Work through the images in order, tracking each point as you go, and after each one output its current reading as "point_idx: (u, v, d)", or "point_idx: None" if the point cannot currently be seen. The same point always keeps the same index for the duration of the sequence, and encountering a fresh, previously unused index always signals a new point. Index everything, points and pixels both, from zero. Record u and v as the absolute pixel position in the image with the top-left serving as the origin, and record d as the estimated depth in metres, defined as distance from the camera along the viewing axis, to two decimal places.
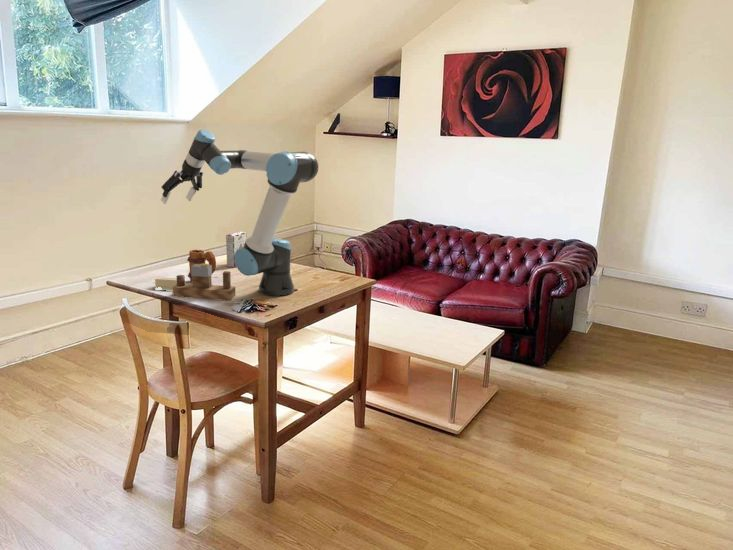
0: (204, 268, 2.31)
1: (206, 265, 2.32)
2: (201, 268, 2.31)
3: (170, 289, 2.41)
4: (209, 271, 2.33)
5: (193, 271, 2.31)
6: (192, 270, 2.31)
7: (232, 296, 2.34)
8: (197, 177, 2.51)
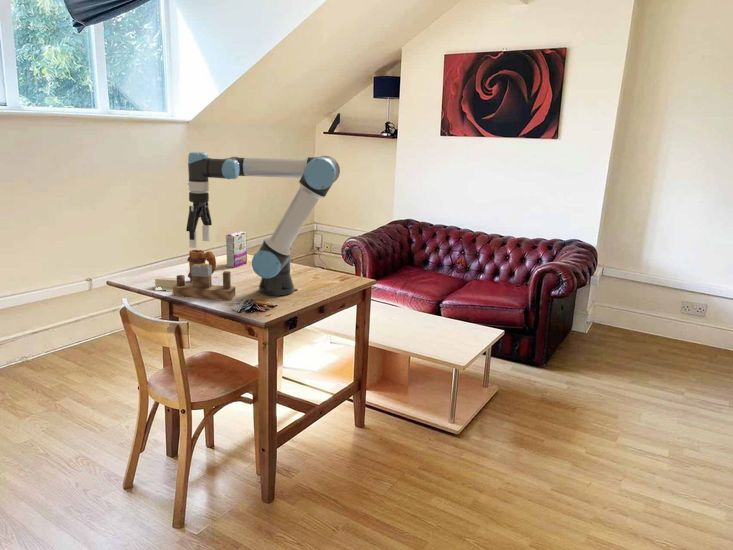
0: (204, 268, 2.31)
1: (206, 265, 2.32)
2: (201, 268, 2.31)
3: (170, 289, 2.41)
4: (209, 271, 2.33)
5: (193, 271, 2.31)
6: (192, 270, 2.31)
7: (232, 296, 2.34)
8: None
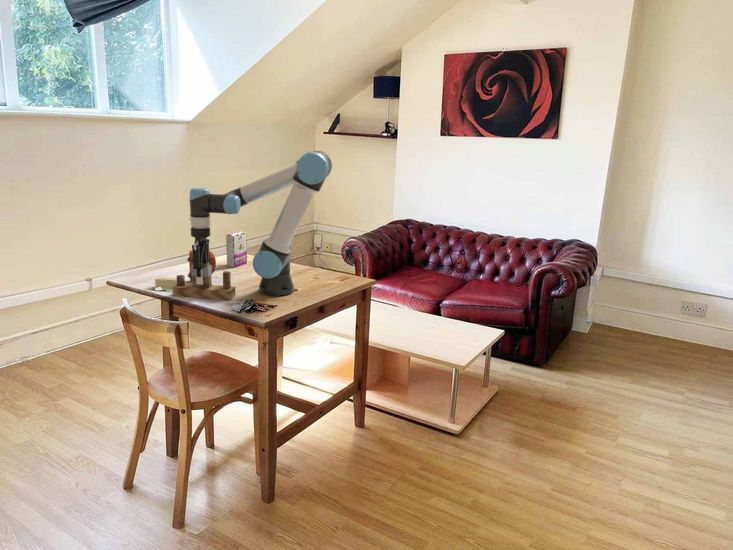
0: (204, 268, 2.31)
1: (206, 265, 2.32)
2: None
3: (170, 289, 2.41)
4: (209, 271, 2.33)
5: (193, 271, 2.31)
6: (192, 270, 2.31)
7: (232, 296, 2.34)
8: None
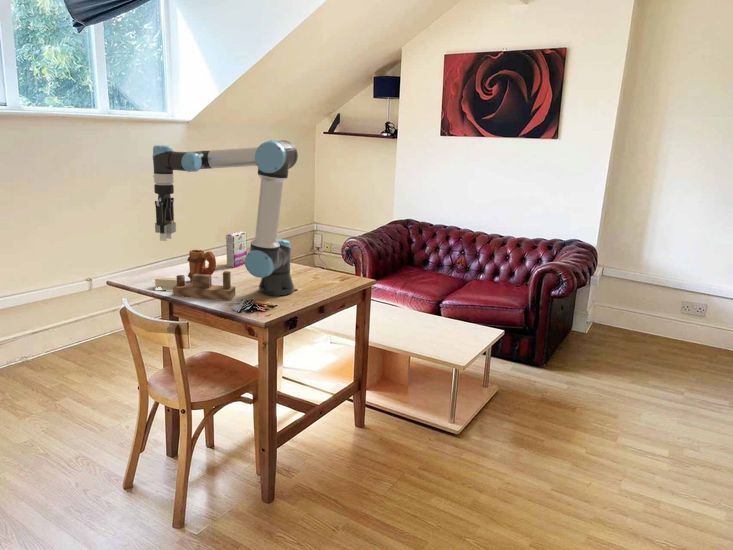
0: (168, 225, 2.36)
1: (170, 222, 2.37)
2: None
3: (170, 289, 2.41)
4: (173, 228, 2.37)
5: (157, 227, 2.36)
6: (155, 226, 2.36)
7: (232, 296, 2.34)
8: None
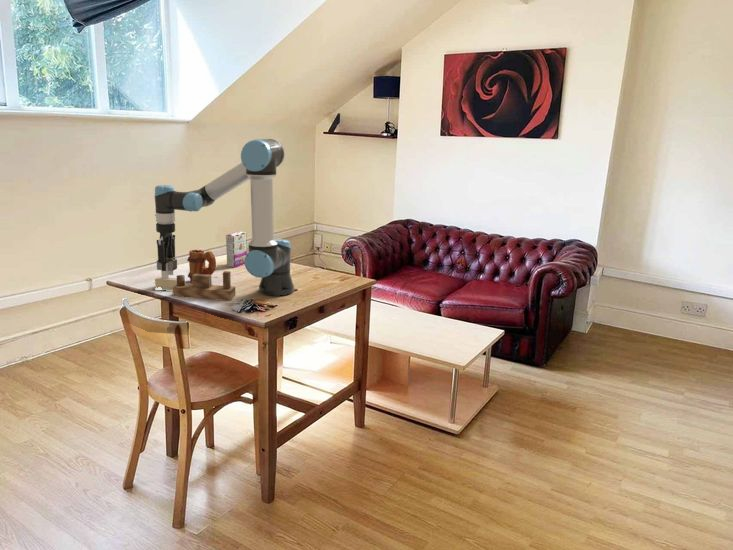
0: (169, 262, 2.40)
1: (171, 259, 2.41)
2: None
3: (170, 289, 2.41)
4: (174, 265, 2.42)
5: (159, 265, 2.40)
6: (157, 264, 2.40)
7: (232, 296, 2.34)
8: None
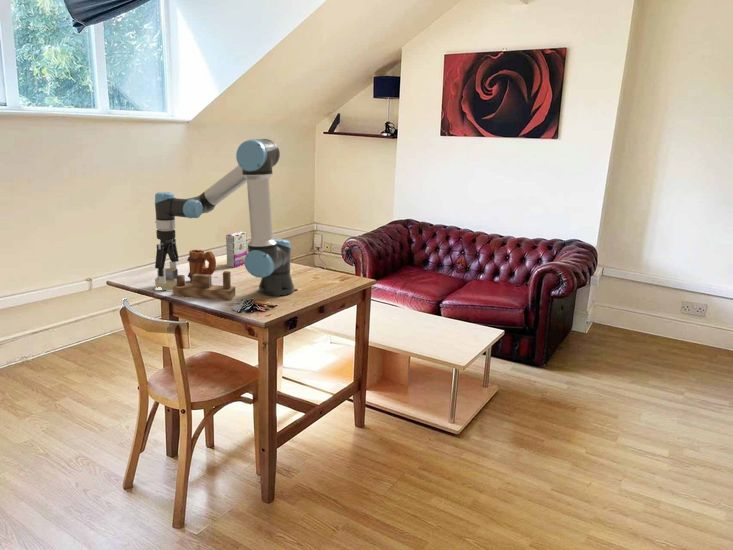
0: (170, 272, 2.41)
1: (172, 269, 2.42)
2: (167, 272, 2.41)
3: (170, 289, 2.41)
4: (175, 275, 2.43)
5: None
6: None
7: (232, 296, 2.34)
8: None
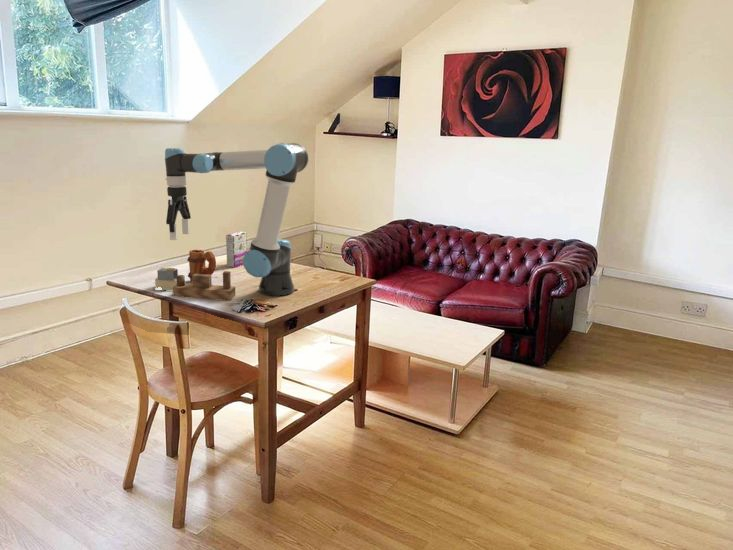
0: (170, 272, 2.41)
1: (172, 269, 2.42)
2: (167, 272, 2.41)
3: (170, 289, 2.41)
4: (175, 275, 2.43)
5: (159, 275, 2.42)
6: (158, 274, 2.41)
7: (232, 296, 2.34)
8: None
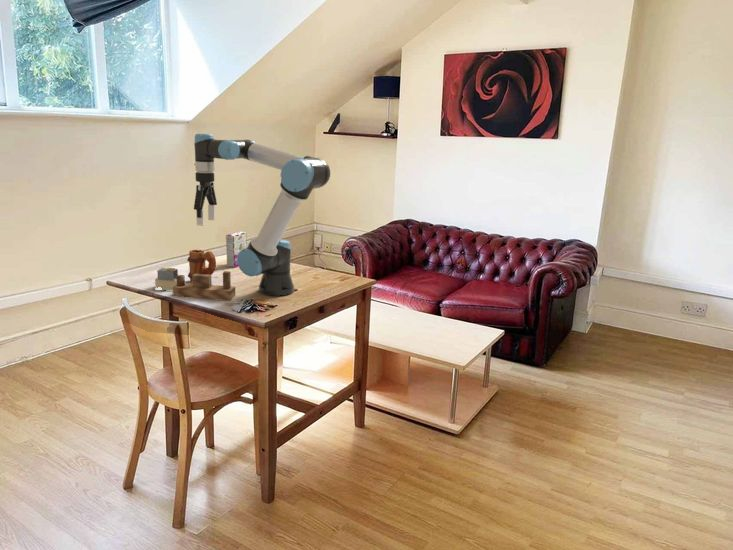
0: (170, 272, 2.41)
1: (172, 269, 2.42)
2: (167, 272, 2.41)
3: (170, 289, 2.41)
4: (175, 275, 2.43)
5: (159, 275, 2.42)
6: (158, 274, 2.41)
7: (232, 296, 2.34)
8: None
